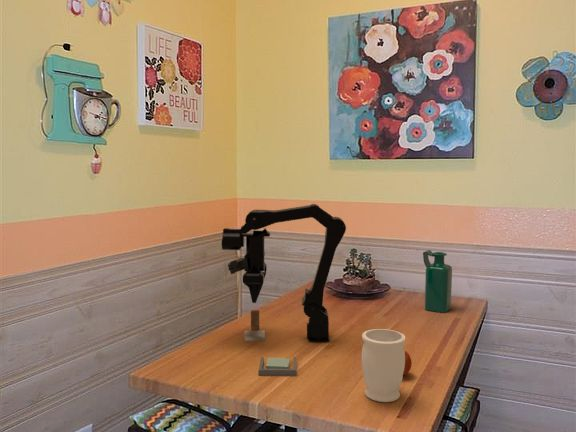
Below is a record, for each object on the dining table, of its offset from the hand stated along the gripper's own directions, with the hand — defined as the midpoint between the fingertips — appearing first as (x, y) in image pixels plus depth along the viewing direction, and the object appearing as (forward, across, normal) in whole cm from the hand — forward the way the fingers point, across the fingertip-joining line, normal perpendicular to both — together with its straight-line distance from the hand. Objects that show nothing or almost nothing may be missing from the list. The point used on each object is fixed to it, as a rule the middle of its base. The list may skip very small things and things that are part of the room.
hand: (255, 298), depth 169 cm
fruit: (+13, +28, +40) cm, 51 cm away
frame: (+13, +24, +8) cm, 28 cm away
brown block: (+13, +1, 0) cm, 13 cm away
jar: (+13, +40, +34) cm, 54 cm away
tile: (+13, +24, +8) cm, 28 cm away
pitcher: (+13, -34, +66) cm, 75 cm away
